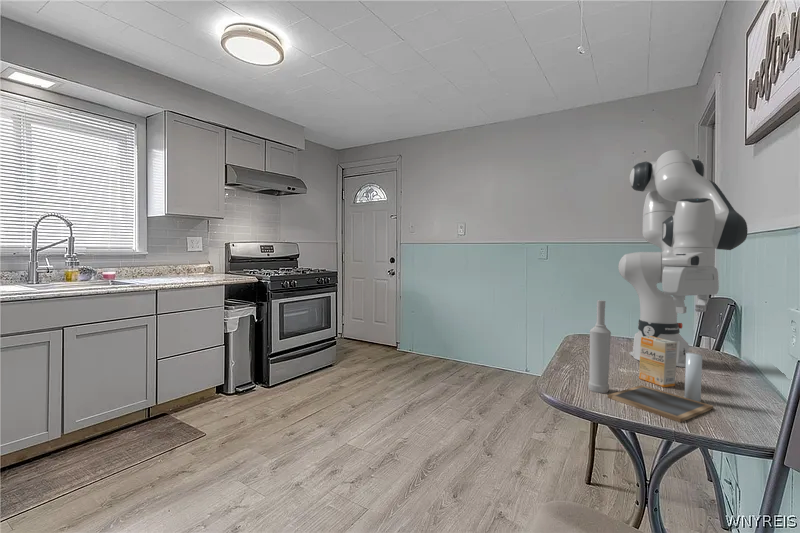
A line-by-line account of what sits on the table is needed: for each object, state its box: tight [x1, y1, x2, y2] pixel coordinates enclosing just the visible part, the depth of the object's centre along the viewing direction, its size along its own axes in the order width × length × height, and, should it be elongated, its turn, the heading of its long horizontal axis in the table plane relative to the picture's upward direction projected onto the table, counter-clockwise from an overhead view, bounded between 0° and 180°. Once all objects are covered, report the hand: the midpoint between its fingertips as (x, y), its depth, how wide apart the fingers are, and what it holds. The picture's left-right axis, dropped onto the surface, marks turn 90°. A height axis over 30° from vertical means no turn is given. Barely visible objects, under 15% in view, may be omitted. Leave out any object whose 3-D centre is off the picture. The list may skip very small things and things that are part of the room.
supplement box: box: [638, 336, 677, 388], centre depth 115 cm, size 8×5×13 cm, turn 18°
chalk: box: [683, 352, 703, 402], centre depth 101 cm, size 3×3×12 cm
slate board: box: [607, 384, 714, 423], centre depth 99 cm, size 16×17×1 cm
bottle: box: [587, 299, 612, 394], centre depth 107 cm, size 5×5×25 cm
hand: (690, 312), depth 101 cm, fingers open, 8 cm apart
